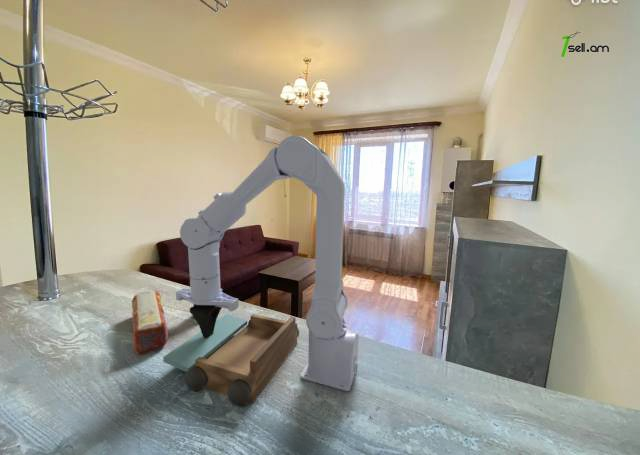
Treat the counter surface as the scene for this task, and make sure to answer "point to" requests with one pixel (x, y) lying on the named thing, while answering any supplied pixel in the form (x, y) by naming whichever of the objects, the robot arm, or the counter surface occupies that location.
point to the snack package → (148, 322)
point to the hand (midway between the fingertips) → (208, 335)
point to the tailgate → (204, 343)
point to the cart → (246, 360)
